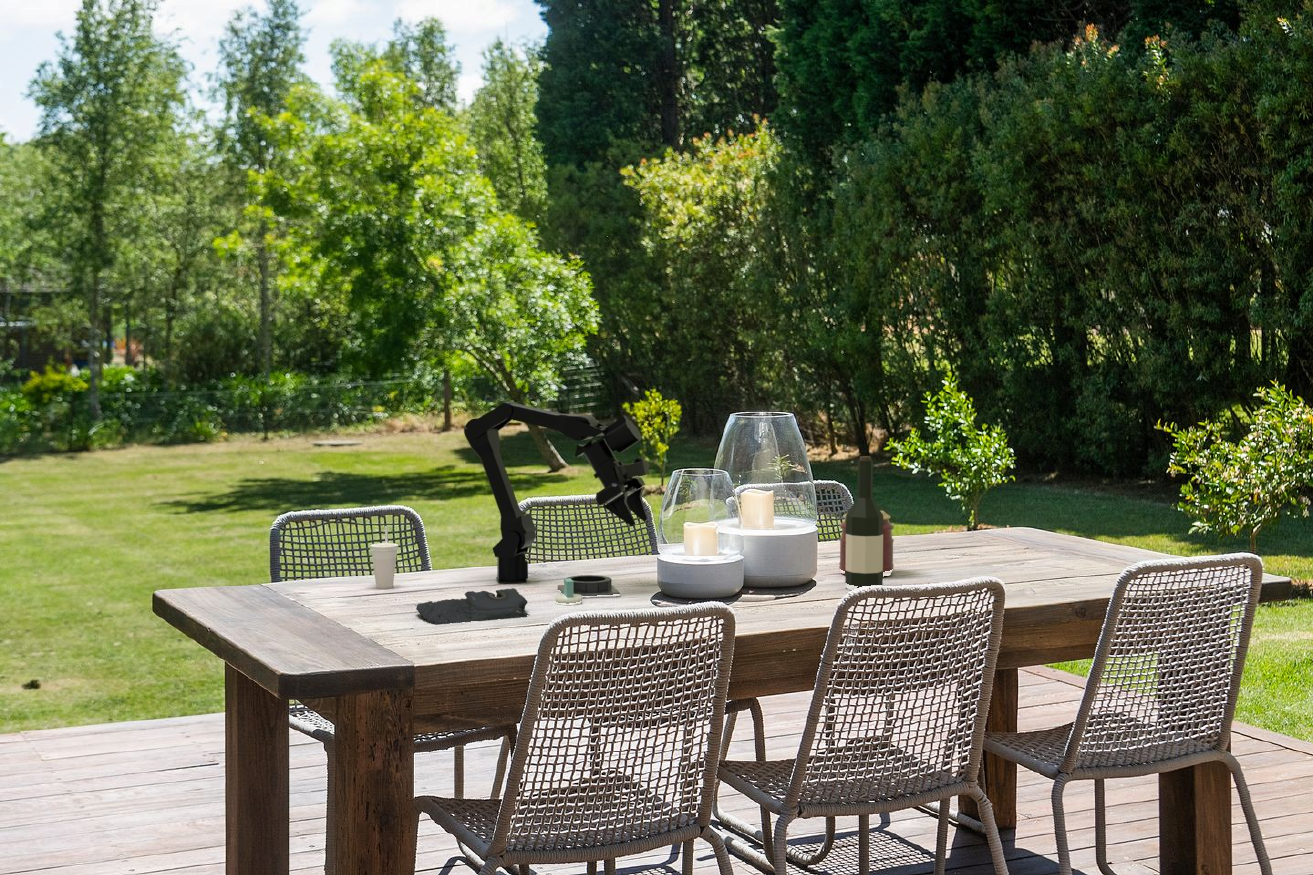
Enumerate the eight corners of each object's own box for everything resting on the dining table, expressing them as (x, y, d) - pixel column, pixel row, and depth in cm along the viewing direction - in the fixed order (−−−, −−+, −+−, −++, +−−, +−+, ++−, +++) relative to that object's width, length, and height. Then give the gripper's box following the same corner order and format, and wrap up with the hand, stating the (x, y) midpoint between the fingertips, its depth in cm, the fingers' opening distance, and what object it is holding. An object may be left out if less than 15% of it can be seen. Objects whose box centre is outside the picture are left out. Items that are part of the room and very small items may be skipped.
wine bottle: (881, 585, 304) (882, 455, 303) (883, 592, 296) (885, 458, 294) (844, 585, 305) (845, 455, 304) (846, 591, 297) (847, 457, 295)
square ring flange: (565, 598, 287) (565, 584, 287) (557, 589, 299) (557, 575, 299) (620, 596, 290) (620, 582, 290) (610, 587, 301) (610, 573, 301)
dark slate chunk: (409, 614, 272) (408, 591, 272) (510, 605, 282) (510, 583, 281) (431, 628, 258) (430, 604, 258) (536, 618, 268) (536, 595, 268)
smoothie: (392, 590, 298) (391, 528, 297) (365, 589, 299) (364, 527, 298) (403, 585, 304) (402, 524, 303) (377, 584, 305) (376, 523, 304)
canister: (828, 572, 324) (829, 500, 323) (873, 568, 330) (874, 497, 329) (858, 580, 312) (859, 505, 311) (904, 576, 318) (905, 503, 317)
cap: (557, 606, 279) (557, 582, 279) (553, 601, 285) (553, 578, 285) (583, 605, 281) (583, 581, 280) (579, 600, 286) (579, 577, 286)
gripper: (620, 448, 290) (656, 509, 289) (645, 442, 308) (679, 500, 307) (579, 474, 293) (615, 534, 292) (606, 467, 311) (641, 524, 310)
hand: (639, 522), depth 300 cm, fingers open, 9 cm apart
